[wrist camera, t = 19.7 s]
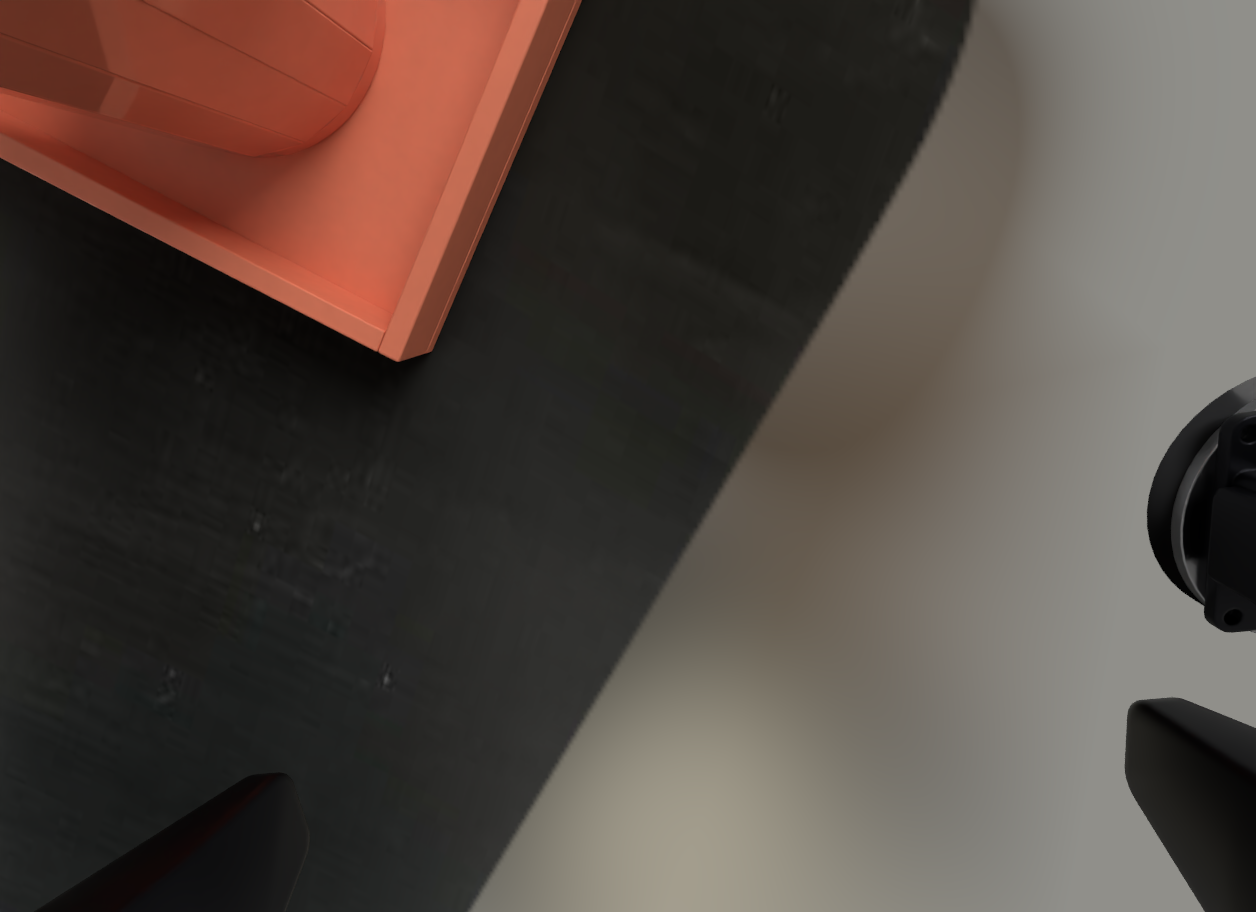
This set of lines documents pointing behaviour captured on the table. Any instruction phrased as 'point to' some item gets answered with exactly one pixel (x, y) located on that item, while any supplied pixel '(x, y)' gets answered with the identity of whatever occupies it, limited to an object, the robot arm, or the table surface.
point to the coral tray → (337, 174)
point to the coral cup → (198, 66)
